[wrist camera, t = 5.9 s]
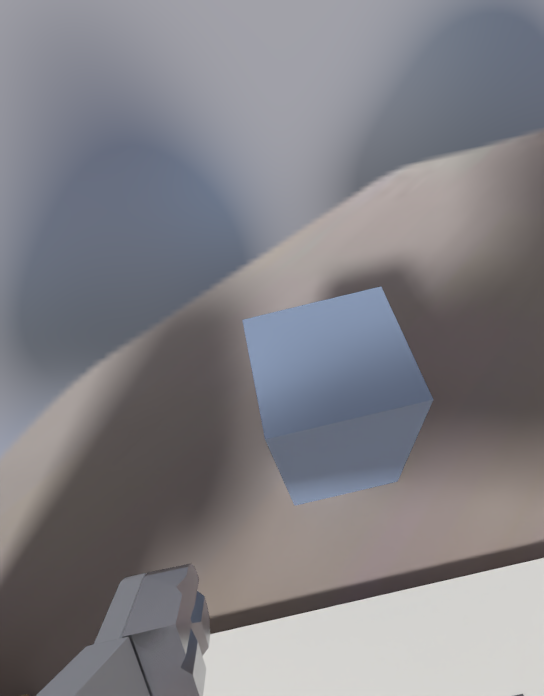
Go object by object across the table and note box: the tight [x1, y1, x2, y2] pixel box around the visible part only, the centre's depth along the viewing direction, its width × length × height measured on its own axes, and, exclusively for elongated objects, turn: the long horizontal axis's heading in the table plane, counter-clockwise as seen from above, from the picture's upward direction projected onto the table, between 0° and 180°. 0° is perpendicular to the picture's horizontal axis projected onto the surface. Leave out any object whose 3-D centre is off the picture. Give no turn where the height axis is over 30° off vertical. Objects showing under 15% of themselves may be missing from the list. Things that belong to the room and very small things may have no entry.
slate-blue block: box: [243, 287, 433, 505], centre depth 17 cm, size 5×4×9 cm
